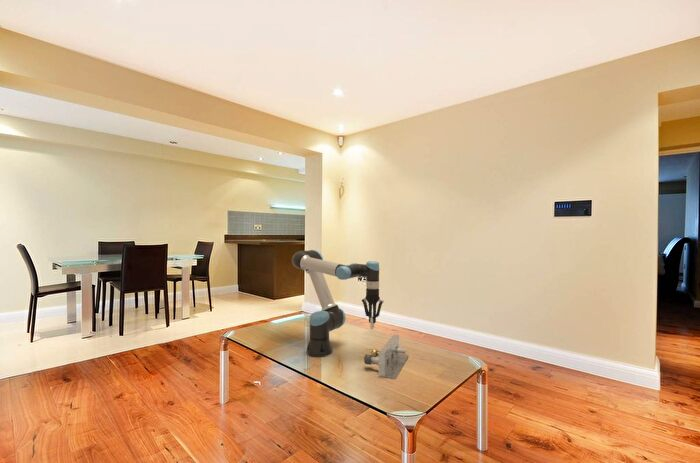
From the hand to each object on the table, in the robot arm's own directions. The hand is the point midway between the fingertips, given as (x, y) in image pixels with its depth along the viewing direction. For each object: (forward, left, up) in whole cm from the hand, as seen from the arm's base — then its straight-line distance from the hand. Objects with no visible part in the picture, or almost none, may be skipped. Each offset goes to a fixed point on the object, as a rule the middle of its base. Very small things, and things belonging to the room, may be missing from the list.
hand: (372, 328), depth 184 cm
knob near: (+8, -18, -13) cm, 24 cm away
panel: (+16, -9, -16) cm, 24 cm away
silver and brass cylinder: (+8, -9, -13) cm, 18 cm away
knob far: (+14, 0, -13) cm, 19 cm away
